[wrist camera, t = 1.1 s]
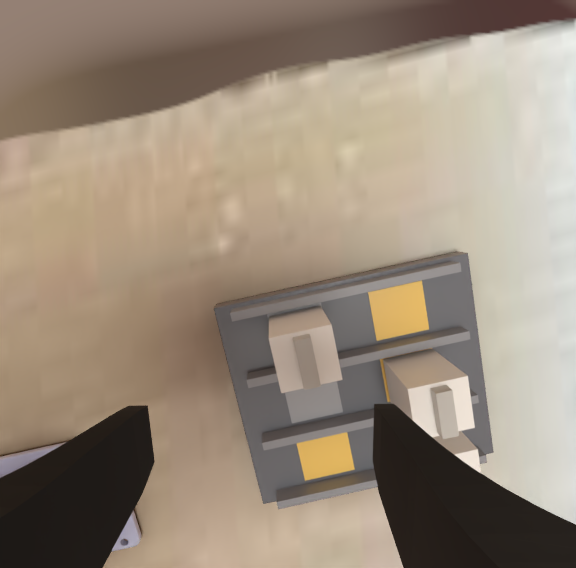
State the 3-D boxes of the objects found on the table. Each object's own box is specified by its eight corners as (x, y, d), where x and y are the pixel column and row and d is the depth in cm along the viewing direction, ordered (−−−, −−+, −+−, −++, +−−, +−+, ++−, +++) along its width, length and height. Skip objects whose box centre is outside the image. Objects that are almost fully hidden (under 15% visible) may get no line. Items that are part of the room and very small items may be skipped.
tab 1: (279, 362, 21) (281, 399, 17) (268, 316, 21) (268, 342, 16) (329, 351, 21) (345, 385, 17) (320, 305, 21) (333, 328, 16)
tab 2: (400, 460, 23) (432, 519, 18) (393, 420, 22) (424, 470, 18) (447, 450, 23) (491, 506, 18) (441, 409, 22) (484, 456, 18)
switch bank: (263, 490, 24) (263, 516, 22) (216, 303, 22) (211, 312, 20) (482, 441, 25) (503, 462, 22) (457, 251, 22) (477, 254, 20)
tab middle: (390, 402, 22) (421, 448, 18) (382, 359, 22) (412, 394, 17) (438, 391, 22) (481, 434, 18) (432, 348, 22) (474, 381, 17)
